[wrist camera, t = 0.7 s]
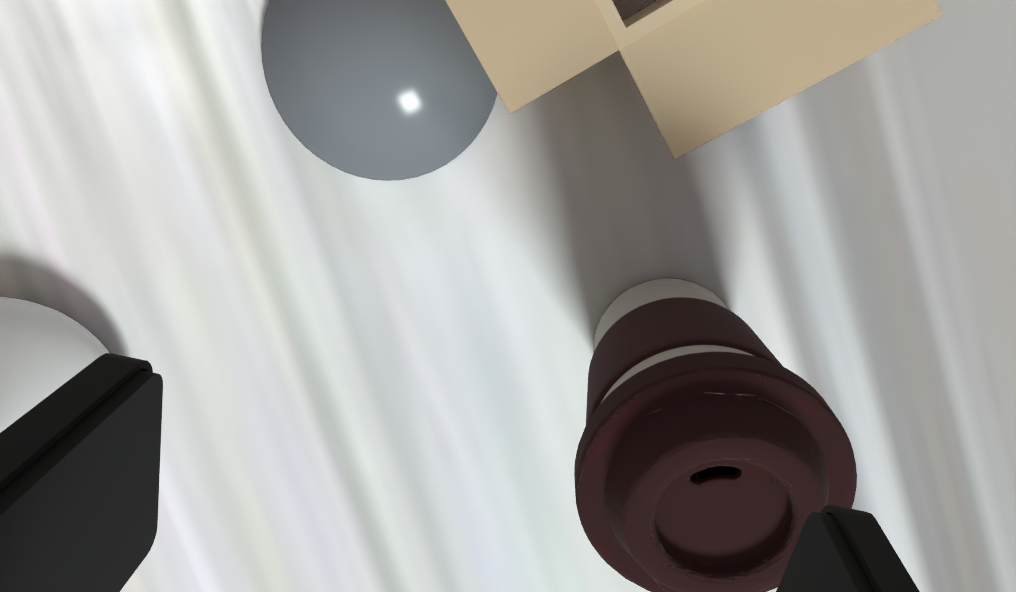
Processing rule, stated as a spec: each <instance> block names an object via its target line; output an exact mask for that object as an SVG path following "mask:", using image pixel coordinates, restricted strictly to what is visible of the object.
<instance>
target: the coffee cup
mask: <svg viewBox="0 0 1016 592" xmlns="http://www.w3.org/2000/svg"><path fill="white" fill-rule="evenodd" d="M856 483H857V473H856V463H855V458H854V453H853V449H852V446H851V443H850V440H849V438H848V436H847V434H846V432H845V430H844V428H843V427H842V425H841V423H840V422H839V420H838V419H837V417H836V416H835V414H834V413H833V412H832V410H831V409H830V407H829V406H828V405H827V403H826V402H825V400H824V399H823V398H822V397H821V396H820V394H819V393H818V392H817V391H816V390H815V389H814V388H813V387H812V386H811V385H809V384H808V383H807V382H806V381H805V380H803V379H802V378H801V377H799V376H798V375H796V374H794V373H793V372H791V371H790V370H788V369H786V368H784V367H783V366H782V365H781V363H780V362H779V361H778V360H777V359H776V358H775V356H774V355H773V354H772V353H771V352H770V350H769V349H768V348H767V347H766V346H765V345H764V343H763V342H762V341H761V340H760V339H759V337H758V336H757V335H756V334H755V333H754V332H753V330H752V329H751V328H750V327H749V326H748V325H747V324H746V323H745V322H744V321H743V320H742V319H741V318H740V317H739V316H737V315H736V314H734V313H733V312H731V311H730V310H729V309H728V308H727V306H726V305H725V304H724V303H723V302H722V301H721V300H720V299H719V298H718V297H717V296H716V295H715V294H714V293H712V292H711V291H709V290H708V289H706V288H704V287H702V286H700V285H698V284H696V283H693V282H689V281H686V280H682V279H669V278H665V279H656V280H651V281H646V282H644V283H641V284H639V285H636V286H634V287H632V288H630V289H629V290H627V291H625V292H624V293H622V294H621V295H620V296H618V297H617V298H616V299H615V300H614V301H613V302H612V303H611V304H610V306H609V307H608V308H607V310H606V311H605V312H604V314H603V315H602V317H601V319H600V322H599V324H598V326H597V330H596V333H595V338H594V354H593V357H592V360H591V363H590V368H589V375H588V392H587V414H586V427H585V430H584V432H583V435H582V437H581V440H580V442H579V445H578V449H577V454H576V459H575V493H576V505H577V509H578V514H579V517H580V521H581V524H582V526H583V529H584V531H585V533H586V535H587V537H588V539H589V541H590V542H591V544H592V546H593V547H594V548H595V549H596V551H597V552H598V553H599V555H600V556H601V557H602V558H603V559H604V561H605V562H606V563H607V564H609V565H610V566H611V567H612V568H613V569H615V570H616V571H617V572H618V573H620V574H621V575H622V576H623V577H624V578H626V579H627V580H629V581H631V582H633V583H635V584H637V585H639V586H641V587H642V588H644V589H646V590H648V591H651V592H767V591H769V590H772V589H775V588H777V587H778V586H779V584H780V581H781V579H782V577H783V574H784V572H785V569H786V567H787V565H788V562H789V560H790V557H791V555H792V553H793V550H794V548H795V545H796V543H797V541H798V538H799V536H800V534H801V531H802V529H803V526H804V524H805V522H806V519H807V518H808V516H809V515H810V514H811V513H812V512H819V513H820V512H821V510H822V509H823V508H824V507H825V506H827V505H830V504H831V505H835V506H840V507H845V508H850V509H851V508H852V505H853V502H854V497H855V492H856Z"/></svg>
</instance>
